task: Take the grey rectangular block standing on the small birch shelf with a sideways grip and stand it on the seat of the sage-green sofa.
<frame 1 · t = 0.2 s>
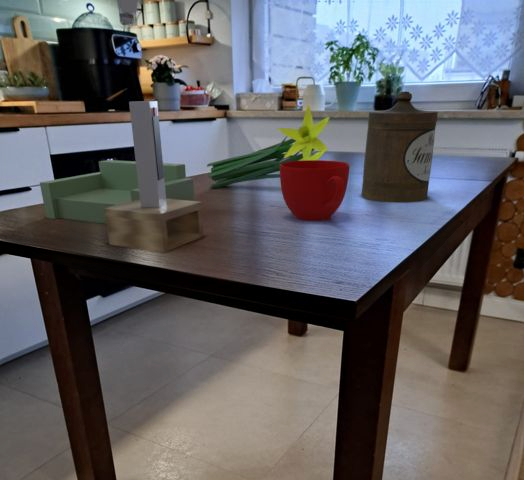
hand: (128, 19, 64), 30 cm above the table, tool pointing down, fingers open, 8 cm apart
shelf: (157, 241, 86), on the table
grey rectangular block: (153, 204, 83), point 6 cm above the table, touching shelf
sofa: (121, 216, 104), on the table
wooden container: (393, 198, 120), on the table
ceramic cup: (317, 221, 99), on the table
daffodil flowers: (265, 191, 130), on the table
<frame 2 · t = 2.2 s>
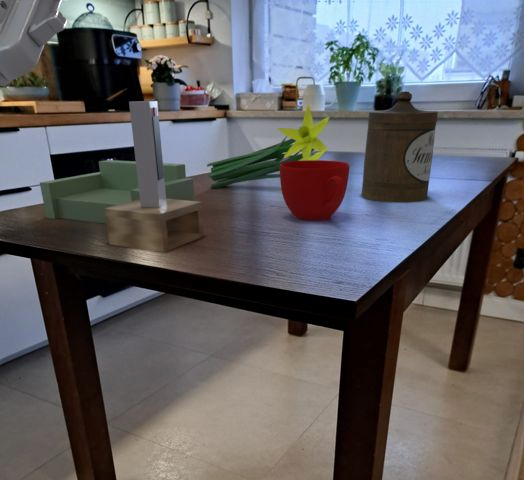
nothing on the table moved.
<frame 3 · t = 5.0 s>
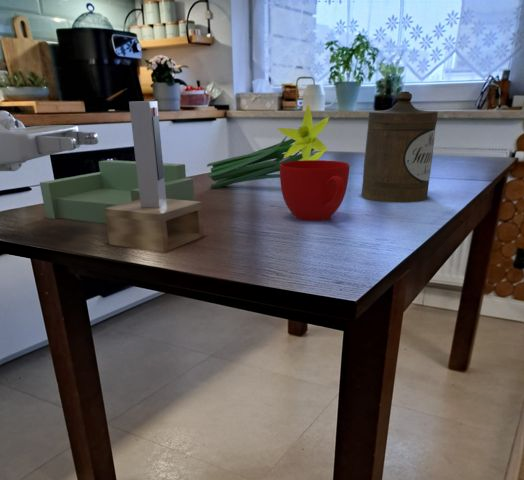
hand: (85, 140, 80), 16 cm above the table, tool horizontal, fingers open, 8 cm apart
nothing on the table moved.
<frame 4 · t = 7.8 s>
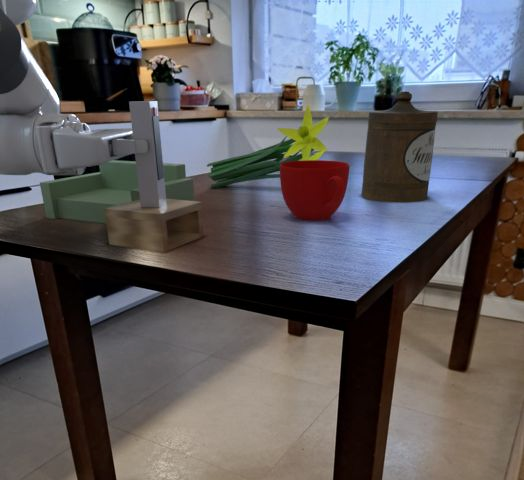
hand: (153, 144, 79), 15 cm above the table, tool horizontal, fingers closed on grey rectangular block, 4 cm apart
grey rectangular block: (153, 204, 83), point 6 cm above the table, touching gripper, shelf
everything else where it was.
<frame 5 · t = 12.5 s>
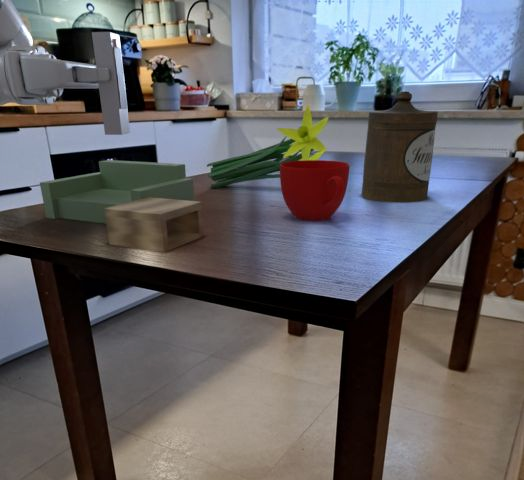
hand: (115, 75, 86), 25 cm above the table, tool horizontal, fingers closed on grey rectangular block, 4 cm apart
grey rectangular block: (117, 133, 90), point 16 cm above the table, touching gripper
everything else where it was.
when the fingers open (13 cm above the table, at t = 17.2 s): grey rectangular block stays where it is, resting on sofa.
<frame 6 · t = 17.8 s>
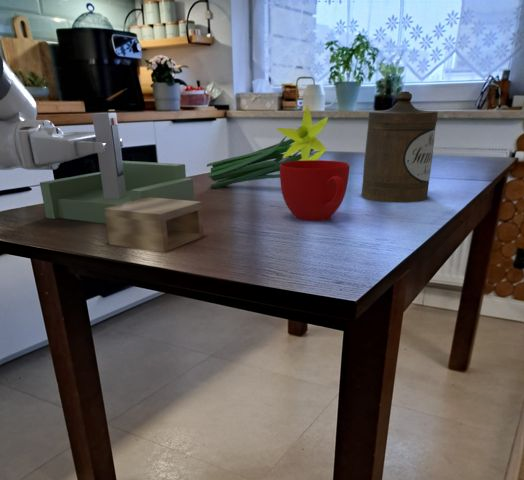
hand: (113, 144, 97), 14 cm above the table, tool horizontal, fingers open, 8 cm apart
grey rectangular block: (115, 197, 101), point 4 cm above the table, touching sofa
everything else where it was.
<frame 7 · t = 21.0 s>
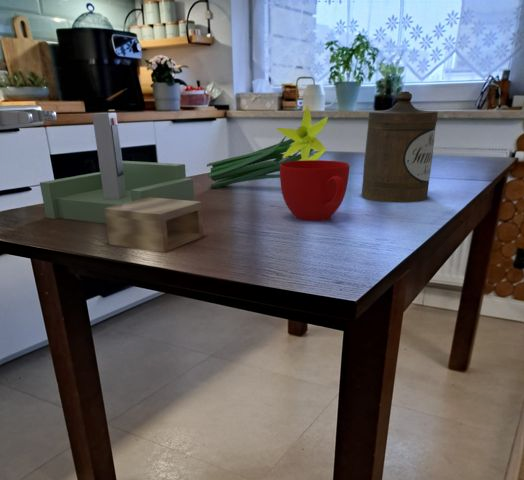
hand: (43, 116, 95), 19 cm above the table, tool horizontal, fingers open, 8 cm apart
nothing on the table moved.
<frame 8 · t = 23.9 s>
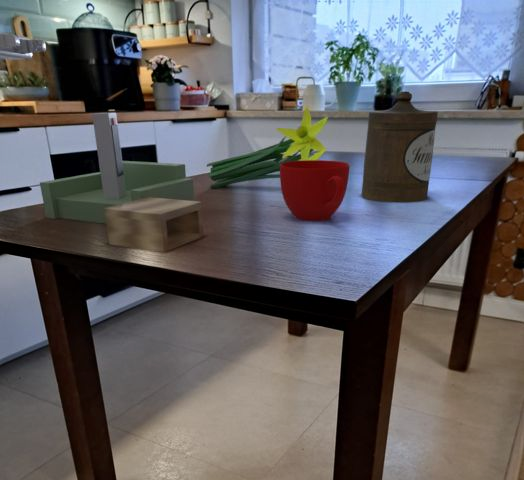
hand: (31, 43, 88), 30 cm above the table, tool horizontal, fingers open, 8 cm apart
nothing on the table moved.
at the end: grey rectangular block inside the target area on the sofa (0.3 cm from its centre), point 4.0 cm above the sofa's base; the gripper is holding nothing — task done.
